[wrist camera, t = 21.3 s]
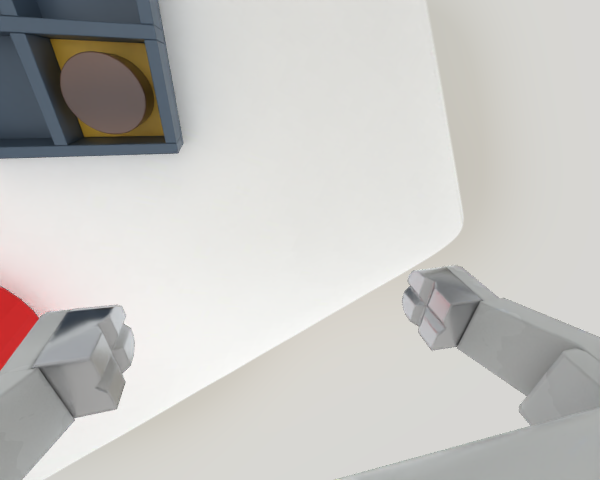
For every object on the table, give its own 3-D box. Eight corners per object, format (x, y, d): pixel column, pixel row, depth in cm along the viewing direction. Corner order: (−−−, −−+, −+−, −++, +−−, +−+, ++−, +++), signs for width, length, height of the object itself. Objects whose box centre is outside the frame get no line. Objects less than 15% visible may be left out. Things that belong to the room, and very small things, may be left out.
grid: (-206, -172, 14) (-323, -239, 11) (137, -117, 17) (119, -157, 14) (-29, 148, 22) (-68, 161, 19) (183, 143, 25) (178, 153, 22)
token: (67, 51, 20) (45, 49, 17) (145, 55, 21) (135, 52, 18) (92, 127, 22) (76, 135, 20) (160, 127, 23) (153, 133, 21)
